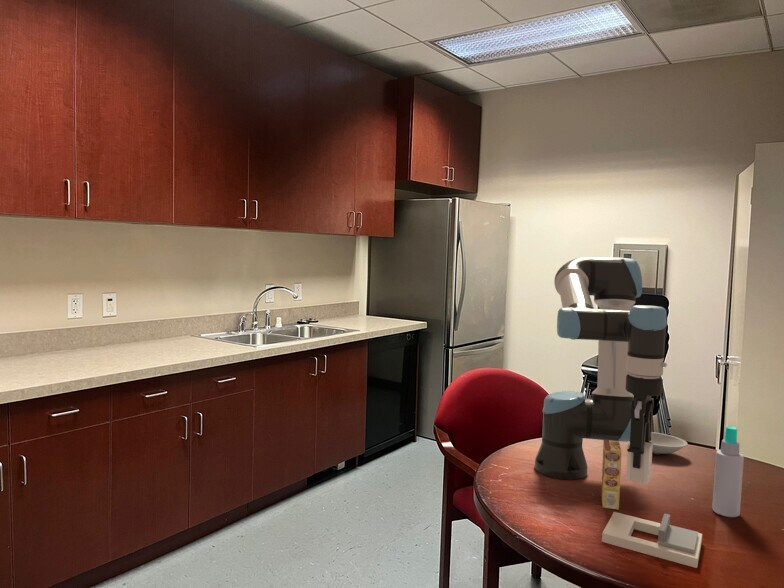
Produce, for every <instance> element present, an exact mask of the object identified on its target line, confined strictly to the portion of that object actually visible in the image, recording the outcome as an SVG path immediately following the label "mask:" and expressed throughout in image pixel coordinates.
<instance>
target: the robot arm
mask: <svg viewBox="0 0 784 588" xmlns="http://www.w3.org/2000/svg"><path fill="white" fill-rule="evenodd" d="M642 276H643V275H642V272H641V268H640V265H639V263H638V261H636V260H635V259H633V258H627V257H626V258H625V257H622V256H621V257H602V256H601V257H599V256H598V257H597V256H596V257H595V256H594V257H593V256H591V257H590V256H582V257H578V258H574V259H571V260H568V262H565V264H563V265H562V266H561V267H560V268H558V270H557V271H556V274H555V276H554V283H553V284H554V288H555V291H556V292H557V294H559V296H560V301H561V308H559V309H558V311H557V317H556V318H557V319H556V331H557V336H558V337H559V338H561V339H570V340H571V341H572V340H574V341H575V340H583V341H584V340H586V341H598V342H597V343H598V348H597V349H598V353H597V355H598V356H597V387H596V388H595V389H594V390H593V391H592V392H591V398H586V396H585V394H584V393H583V392H580V391H573V390H572V391H570V390H567V391H566V390H565V391H563V390H562V391H556V392H552V393H549V394H547V395H546V396H545V398H544V399H543V408H542V413H543V414H542V415H543V416H542V417H543V418H542V433H541V444H540V446H539V449H538V451H537V454H536V457H535V460H534V468H535V470H536V471H537V472H538V473H540V474H542V475H544V476H546V477H550V478H554V479H558V480H559V479H560V480H580V479H583V478H585V477H586V476H587V475H588V463H587V459H586V455H585V451H584V448H583V439H589V440H599V441H600V440H601V441H604V440H612V441H619V442H620V443H621V442H623V443H624V442H625V443H627V442H629V443H630V447H629V449H628V448H627V449H626V450H627V453H628V452H631V464H630V480H631V482H636V483H639V482H640V484H643V477H644V460H645V453H644V443H645V442H647V443H651V442H649V441H651V432H652V428H653V425H652V424H653V410H654V408H655V407H654V406H655V405H654V404H655V400H654V398H652V397H657V396H658V397H659V396H661V395H662V393H663V389H664V388H663V386H664V384H663V383H664V379H663V378H662V376H663V375H664V368H666V367H667V365H668V364H667V362H664V360H665V352H666V351H665V350H666V349H665V348H666V337H667V336H666V335H667V332H666V331H667V326H668V321H667V310H666V308H664V307H663V306H658V305H644V304H643V305H642V304H641V305H640V304H638V305H637V304H636V299H638V298H640V297H641V296H642V292H643V277H642ZM591 296H593V302H594V304H595V305H596V306H597V307H598V308H594V307H595V306H594V305H593V302H592V298H591ZM635 304H636V305H635ZM630 480H629V481H630Z"/></svg>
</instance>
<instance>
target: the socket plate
mask: <svg viewBox="0 0 784 588" xmlns="http://www.w3.org/2000/svg"><path fill="white" fill-rule="evenodd" d="M660 524H661V523H660V522H656V521H652V520H648V519H643V518H640V517H636V516H633V515H629V514H626V513H625V514H624V513H621V512H617V511H613V512H612V514H611V516H610V518H609V520H608V522H607V523H606V526H605V527H604V529H603V531H602V533H601V534H602V535H601V542H602V543H606V544H608V545H611V546H612V545H613V546H616V547H618V548H622V549H623V548H624V549H627V550H630V551H634V552H636V553H637V552H638V553H641V554H644V555H648V556H652V557H656V558H659V559H662V560H666V561H670V562H674V563H676V564H677V563H678V564H680V565H684V566H688V567H692V568H695V569H697V568H698V565H699V560H700V554H701V548H702V544H703V543H702V542H703V533H700V532H698V537H697V542H696V547H695V552H694V554H693V553H689V552H686V551H682V550H678V549H674V548H671V547H667V546H663V545H659V544H658V541H657V542H654V541H650V540H647V539H643V538H639V537H635V536H632V534H633V532H634V530H635V531H639V532H644V533H647V534H651V535H654V536H658V532H659V527H660Z"/></svg>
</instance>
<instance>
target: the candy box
mask: <svg viewBox="0 0 784 588" xmlns="http://www.w3.org/2000/svg"><path fill="white" fill-rule="evenodd" d="M621 448H622V447H621V442H620V441H612V440H603V448H602V463H601V464H602V465H601V502H602V503H601V504H602V508H604V509H612V510H619V509H620V492H621V491H620V490H621V473H622V471H621V470H622V469H621V468H622V449H621Z"/></svg>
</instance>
